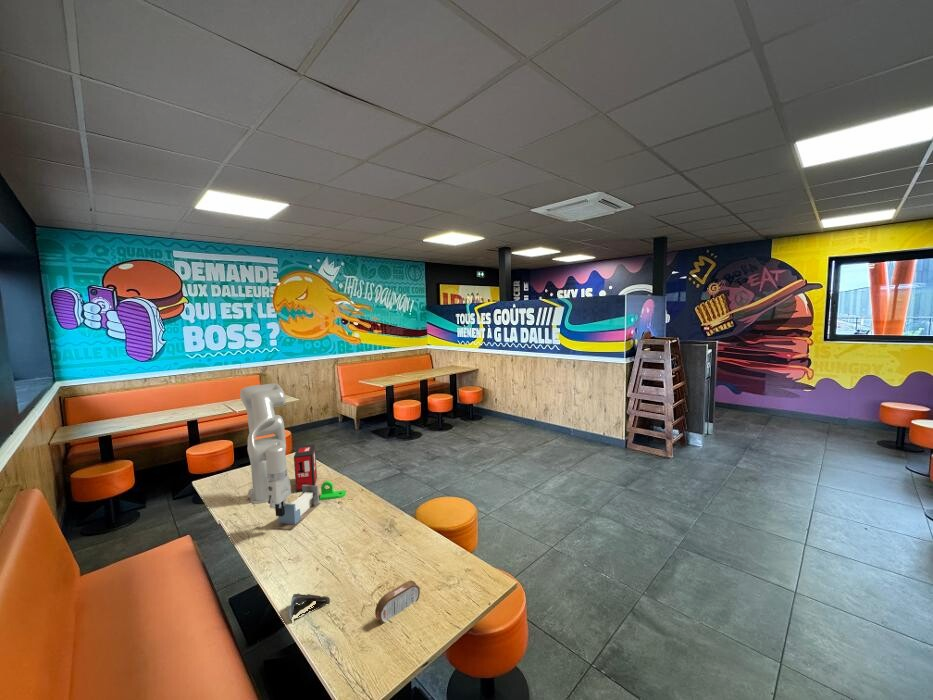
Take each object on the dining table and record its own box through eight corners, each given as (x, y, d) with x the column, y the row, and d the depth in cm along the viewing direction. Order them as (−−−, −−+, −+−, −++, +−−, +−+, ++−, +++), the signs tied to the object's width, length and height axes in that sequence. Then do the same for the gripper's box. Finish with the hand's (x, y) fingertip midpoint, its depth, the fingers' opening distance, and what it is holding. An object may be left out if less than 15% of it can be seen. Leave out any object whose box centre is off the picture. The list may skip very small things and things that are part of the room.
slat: (285, 521, 168) (284, 508, 167) (306, 503, 184) (305, 491, 183) (293, 522, 167) (292, 509, 167) (313, 504, 183) (313, 492, 182)
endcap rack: (272, 529, 163) (271, 508, 162) (304, 503, 186) (302, 484, 185) (291, 531, 162) (289, 509, 161) (320, 504, 184) (319, 485, 183)
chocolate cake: (326, 591, 125) (295, 577, 121) (332, 598, 120) (300, 584, 116) (309, 623, 121) (276, 610, 117) (314, 632, 115) (280, 618, 111)
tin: (416, 598, 122) (415, 574, 122) (421, 603, 120) (421, 579, 119) (375, 624, 112) (373, 599, 111) (380, 631, 110) (379, 605, 109)
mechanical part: (319, 501, 188) (318, 486, 187) (322, 496, 194) (321, 481, 193) (344, 499, 190) (343, 484, 189) (346, 493, 195) (345, 479, 195)
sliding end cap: (278, 523, 167) (277, 503, 166) (284, 518, 171) (283, 499, 170) (295, 524, 165) (293, 505, 164) (300, 519, 169) (299, 500, 168)
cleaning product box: (314, 490, 199) (312, 454, 197) (296, 493, 197) (293, 456, 195) (317, 477, 215) (314, 444, 213) (300, 480, 212) (297, 446, 210)
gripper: (273, 482, 152) (276, 525, 153) (295, 467, 166) (298, 507, 168) (257, 482, 153) (260, 524, 155) (280, 467, 168) (283, 506, 169)
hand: (280, 515), depth 161 cm, fingers closed
